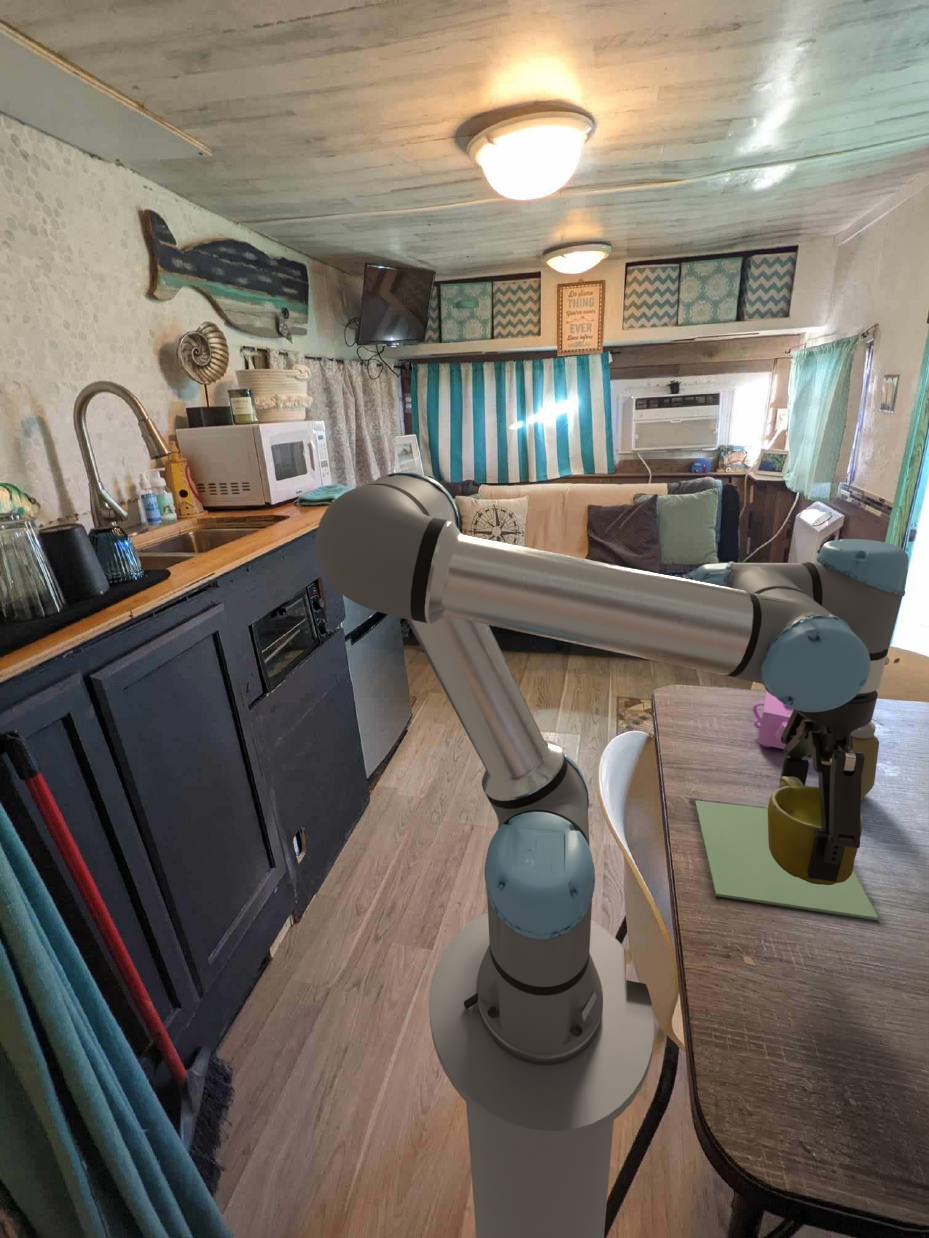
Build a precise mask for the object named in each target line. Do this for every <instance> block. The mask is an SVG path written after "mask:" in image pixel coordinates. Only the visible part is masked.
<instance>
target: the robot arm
mask: <svg viewBox="0 0 929 1238" xmlns="http://www.w3.org/2000/svg"><path fill="white" fill-rule="evenodd" d="M315 548H316V549H315V550H316V557H317V560H318V564H319V567H320V568H321V571H322V573H323V574H324V576H325V578H326V579H327V581H328V582H329V583H330V585H331V586H333V588H334V589H335V590H336V591H338V592H339V593H340V594H341V595H342V596H343V597H345V598H346V599H348V600H350V601H352V602H353V603H355V604H356V605H360V606H362V607H365V608H366V609H368V610H373V611H375V612H379V613H382V614H385V615H390V616H393V617H397V618H401V619H404V620H406V621H407V623H408V625H409V627H410V629H411V631H412V632H413V634H414V636H415V638H416V640H417V642H418V644H419V646H420V648H421V649H422V652H423V653H424V655H425V657H426V659H427V662H428V663H429V665H430V667H431V668H432V670H433V672H434V674H435V676H436V678H437V680H438V682H439V684H440V686H441V687H442V689H443V692H444V693H445V695H446V697H447V699H448V701H449V703H450V705H451V707H452V709H453V710H454V712H455V714H456V716H457V718H458V719H459V721H460V723H461V725H462V727H463V730H464V731H465V733H466V735H467V736H468V739H469V740H470V742H471V744H472V746H473V748H474V750H475V752H476V754H477V755H478V758H479V760H480V761H481V763H482V765H483V767H484V769H485V771H484V773H483V775H482V779H481V788H482V791H483V792H484V794H485V796H486V798H487V800H488V802H489V804H490V805H491V807H492V809H493V811H494V813H495V814H496V818H497V822H498V823H497V824H498V825H497V826H498V827H497V830H496V831H495V833H494V834H493V835H492V837H491V840H490V842H489V844H488V848H487V851H486V852H487V853H486V858H485V862H484V873H483V874H484V875H483V876H484V881H485V890H486V899H487V900H486V901H487V912H488V924H489V946H488V948H487V951H486V953H485V955H484V957H483V960H482V962H481V965H480V968H479V972H478V976H477V984H476V992H477V993H476V994H475V995H473V996H472V997H470V998H469V999H467V1000H465V1001H464V1006H465V1008H466V1009H468V1008H469V1007H471V1006H473V1005H474V1004H476V1003H477V1005H478V1010H479V1014H480V1017H481V1020H482V1022H483V1025H484V1027H485V1028H486V1030H487V1032H488V1033H489V1035H490V1036H491V1038H492V1039H493V1040H494V1041H495V1042H496V1043H497V1044H498V1045H499V1046H500V1047H501V1048H502V1049H503V1050H505V1051H506V1052H507V1053H509V1054H510V1055H512V1056H514V1057H516V1058H517V1059H520V1060H522V1061H525V1062H528V1063H532V1064H538V1065H553V1064H559V1063H563V1062H566V1061H568V1060H571V1059H573V1058H574V1057H576V1056H578V1055H579V1054H581V1053H582V1052H583V1051H584V1050H585V1049H586V1048H587V1047H588V1046H589V1045H590V1044H591V1042H592V1041H593V1039H594V1038H595V1036H596V1034H597V1032H598V1030H599V1027H600V1024H601V1019H602V1011H603V991H602V985H601V981H600V977H599V975H598V972H597V969H596V967H595V964H594V962H593V959H592V957H591V955H590V932H591V920H592V908H593V897H594V893H595V887H596V870H595V864H594V859H593V855H592V854H593V853H592V850H591V848H590V827H589V809H590V808H589V807H590V799H589V790H588V786H587V783H586V780H585V776H584V774H583V772H582V771H581V768H580V767H579V766H578V765H577V763H576V761H574V760H573V759H572V758H571V757H570V756H568V755H566V753H565V754H564V752H563V750H562V748H561V747H560V746H559V745H558V744H557V743H556V742H554V741H551V740H547V739H545V738H544V737H543V735H542V733H541V730H540V729H539V727H538V725H537V722H536V720H535V718H534V716H533V714H532V712H531V710H530V707H529V706H528V703H527V701H526V699H525V697H524V695H523V693H522V692H521V691H522V690H521V689H520V687H519V685H518V683H517V681H516V678H515V676H514V675H513V674H514V673H513V672H512V670H511V668H510V667H509V664H508V662H507V660H506V657H505V656H504V654H503V652H502V650H501V648H500V646H499V643H498V641H497V639H496V637H495V635H494V633H493V631H492V629H491V627H496V628H502V629H507V630H511V631H514V632H520V633H524V634H530V635H534V636H539V637H544V638H549V639H553V640H557V641H563V642H567V643H572V644H575V645H581V646H585V647H591V648H594V649H595V648H596V649H600V650H604V651H609V652H613V653H619V654H623V655H628V656H631V657H632V656H633V657H637V658H640V659H641V658H643V659H647V660H651V661H656V662H661V663H665V664H670V665H673V666H674V665H675V666H679V667H683V668H688V669H693V670H698V671H703V672H708V673H712V674H716V675H720V676H726V677H731V678H735V679H739V680H744V681H747V682H752V683H756V684H760V685H762V686H763V687H764V689H765V690H766V692H768V693H770V694H771V695H772V696H775V697H776V698H777V699H778V700H779V701H780V702H782V703H783V704H785V705H786V706H788V707H790V708H792V709H794V710H793V712H792V714H791V716H790V718H789V721H788V723H787V725H786V727H785V729H784V731H783V734H782V736H781V742H782V744H786V746H785V747H784V749H783V753H784V756H786V757H784V759H783V763H782V770H781V775H780V778H781V777H783V776H784V777H790V776H792V777H797V778H798V779H799V780H800V781H801V782H802V784H803V786H806V782H807V778H808V772H809V768H810V761H809V759H811V761H812V763H811V764H812V769H813V770H814V771H815V772H816V773H817V776H818V778H817V779H818V787H819V795H820V811H821V827H822V828H817V830H814V833H815V839H814V844H813V848H812V853H811V857H810V862H809V866H808V871H807V874H808V877H809V878H812V879H819V880H826V881H832V882H836V881H837V877H838V873H839V869H840V865H841V861H842V857H843V853H844V849H845V847H851V848H858V849H860V847H861V837H860V824H861V815H862V800H861V776H862V771H863V766H864V760H865V758H864V755H863V753H859V752H852V751H851V749H852V748H853V743H852V736H851V732H853V731H854V730H856V729H858V728H861V727H864V726H866V725H867V724H869V723H870V722H872V720H873V717H874V714H875V713H874V712H875V708H876V704H877V700H878V696H879V693H878V689H879V688H880V687H881V686H880V685H881V681H882V677H883V673H884V670H885V666H887V665H889V664H890V662H891V661H890V658H889V656H888V653H889V649H890V646H891V643H892V639H893V635H894V630H895V627H896V624H897V619H898V617H899V612H900V607H901V604H902V601H903V597H905V595H906V590H905V589H906V585H907V578H908V574H909V573H908V572H909V562H910V559H909V554H908V553H907V552H906V551H905V550H904V549H903V548H902V547H900V546H898V545H895V544H893V543H889V542H884V541H879V540H873V539H863V538H861V539H860V538H843V539H839V540H830V541H827V542H826V543H824V544H822V546H821V547H820V550H819V553H818V555H817V556H816V559H815V560H816V561H805V562H735V561H728V562H719V563H708V564H703V565H700V566H699V567H698V568H697V569H696V570H695V572H694V574H693V577H692V579H687V578H683V577H677V576H672V575H667V574H662V573H657V572H652V571H648V570H642V569H637V568H632V567H626V566H622V565H618V564H617V565H616V564H611V563H607V562H602V561H597V560H591V559H586V558H581V557H576V556H572V555H567V554H562V553H557V552H553V551H552V552H551V551H547V550H542V549H537V548H531V547H526V546H521V545H516V544H512V543H511V544H510V543H506V542H503V541H501V542H500V541H496V540H492V539H485V538H482V537H476V536H471V535H466V534H463V533H462V532H461V531H460V516H459V511H458V508H457V505H456V502H455V501H454V499H453V497H452V495H451V494H450V492H449V491H448V490H447V488H446V487H445V486H443V485H442V484H441V483H439V482H438V481H437V480H435V479H434V478H432V477H430V476H427V475H425V474H421V473H419V472H418V473H417V472H391V473H389V474H387V475H384V476H380V477H378V478H376V479H375V480H373V481H371V482H368V483H366V484H363V485H361V486H357V487H354V488H352V489H350V490H347V491H346V492H344V493H342V494H340V495H339V496H338V497H337V498H335V499H334V500H333V501H332V502H331V503H330V504H329V505H328V507H327V508H326V509H325V511H324V513H323V515H322V516H321V518H320V521H319V524H318V526H317V529H316V535H315ZM490 626H491V627H490ZM805 758H807V759H805ZM821 761H823V762H830V763H831V765H824V764H823V763H822V762H821ZM778 785H779V786H780V784H778ZM779 786H778V789H779V788H780V787H779Z"/></svg>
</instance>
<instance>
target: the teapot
mask: <svg viewBox="0 0 929 1238" xmlns="http://www.w3.org/2000/svg"><path fill="white" fill-rule="evenodd" d="M761 706H763V709H762V714H761V715H760V714H759V712H758V710H757V709H758V707H761ZM793 710H794V709H792V708H790V707H788V706H786V705H785V704H783V703H782V702H780V701H779V700H778V699H777V698H776V697H775V696H772V695H771V694H770V693H768V691H766V692H765V697H764V700H760V701H756V702H755V703H754V704H752V712H753V715H754V716H755V718H756V719H755V720H754V721H753V726H754V727H755V728H757V729H759V733H758V739H757V744H758V745H759V744H760V745H761V746H762V747H764V748H772V747H773V748H778V749H782V750H784V747H785V746H786V744H782V742H781V736H782V734H783V731H784V729H785V727H786V725H787V723H788V721H789V718H790V716H791V714H792V712H793Z"/></svg>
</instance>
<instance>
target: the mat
mask: <svg viewBox="0 0 929 1238" xmlns="http://www.w3.org/2000/svg"><path fill="white" fill-rule="evenodd" d="M694 805H695V809H696V813H697V818H698V823H699V827H700V832H701V836H702V842H703V845H704V849H705V854H706V859H707V864H708V867H709V872H710V877H711V882H712V885H713V886H712V887H713V890H714V891H713V892H714V895H715V897H719V898H726V899H733V900H739V901H747V902H753V903H760V904H765V905H773V906H780V907H785V908H794V909H800V910H806V911H813V912H818V913H820V912H821V913H827V914H833V915H839V916H846V917H853V918H859V919H860V918H861V919H867V920H873V921H879V916H878V913H876V911H875V909H874V907H873V905H872V902H871V901H870V899H869V898H868V897H869V896H868V895H867V893H866V892H865V890H864V888H863V885H862V884H861V882H860V879H859V878H858V876H857V875H856V872H855V870H853V872H852V874H851V876H850V877H849V878H848V879H847V880H846V881H844V882H841V883H836V884H833V885H824V884H812V883H810V882H807V881H805V880H803V879H800V878H798V877H794V876H792V875H790V874H789V873H787V872H786V871H784V870H783V869H782V868H781V867H780V866H779V865H778V864H777V862H776V861H775V860H774V858H773V857H772V854H771V852H770V849H769V842H768V807H757V806H748V805H741V804H740V805H739V804H731V803H723V802H714V801H705V800H694Z"/></svg>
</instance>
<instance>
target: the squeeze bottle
mask: <svg viewBox="0 0 929 1238" xmlns="http://www.w3.org/2000/svg"><path fill="white" fill-rule="evenodd" d="M876 728H877V727H876V724H875V723H874V722H872V721H871V722H870V723H869V724H867V725H866V726H864V727H861V728H858V729H856V730H854V731H853V732H851V736H852V743H853V748H852V749H851V751H852V752H859V753H863V755H864V758H865V760H864V766H863V771H862V776H861V801H863V799H864V798H865V797H866V796H867V795H868V793H869V792H870V791H871V790H872V789H873V787H874V786H875V781H876V773H877V764H878V756H879V749H880V741H879V738H878V737H877V736H876V735H875V732H876ZM821 762H822V763H823V764H824V765H831V763H830V762H823V761H821Z"/></svg>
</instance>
